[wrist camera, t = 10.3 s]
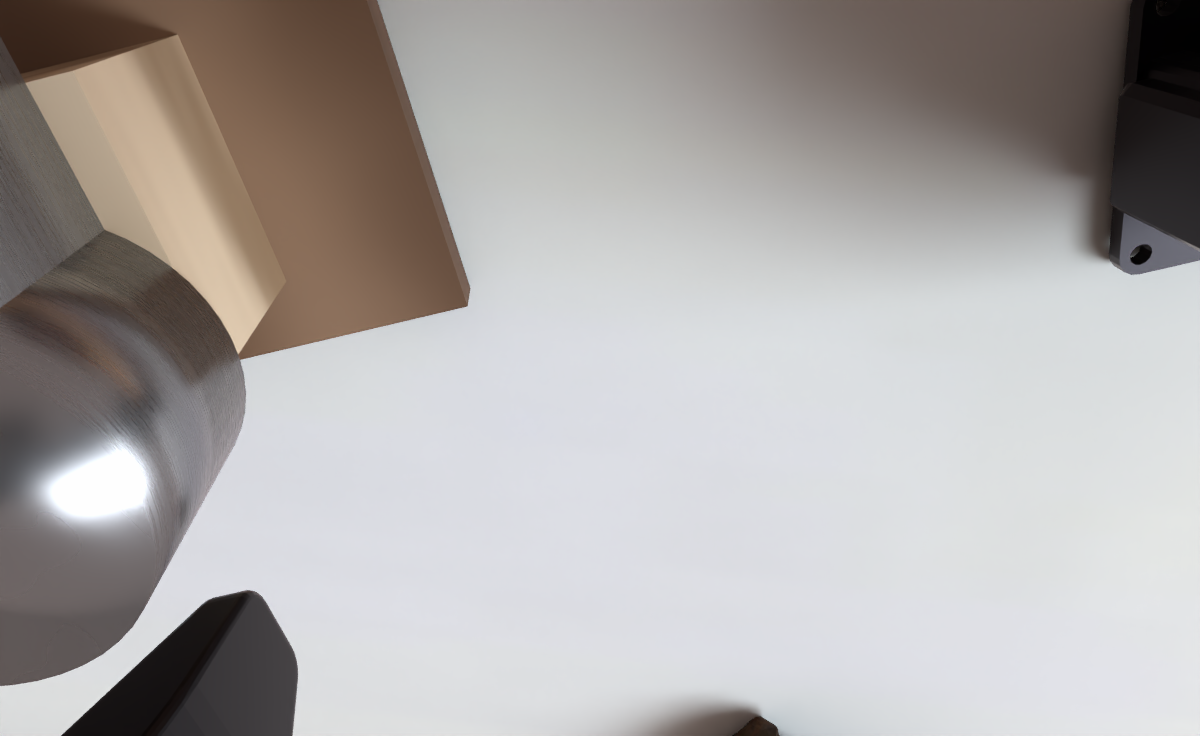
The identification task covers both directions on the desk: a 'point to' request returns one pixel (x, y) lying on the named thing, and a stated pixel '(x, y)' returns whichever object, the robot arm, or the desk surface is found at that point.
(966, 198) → the desk surface
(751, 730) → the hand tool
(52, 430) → the grey long block
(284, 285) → the tool rack
